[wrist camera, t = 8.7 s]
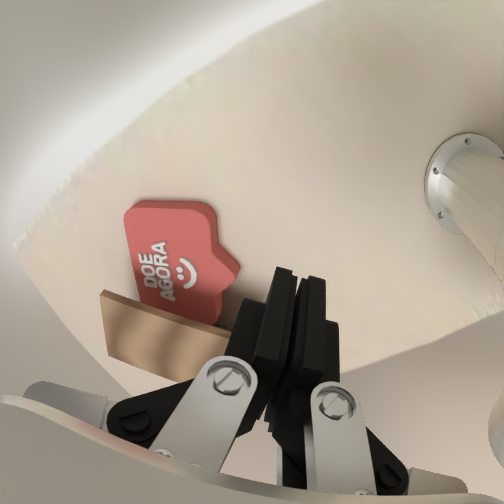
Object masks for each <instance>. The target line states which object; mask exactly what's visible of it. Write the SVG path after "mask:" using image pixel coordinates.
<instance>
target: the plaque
mask: <svg viewBox="0 0 504 504" xmlns="http://www.w3.org/2000/svg"><path fill="white" fill-rule="evenodd" d="M124 225H125V231H126V236H127V241H128V246H129V251H130V256H131V261H132V265H133V270H134V274H135V279H136V283H137V287H138V291H139V295H140V300H141V303H143V304H146V305H149V306H151V307H154V308H157V309H160V310H163V311H166V312H169V313H172V314H175V315H178V316H181V317H184V318H187V319H191V320H194V321H197V322H200V323H203V324H206V325H213V324H214V323H216V321H217V319H218V317H219V315H220V312H221V310H222V307H223V306H222V291H223V290H225V289H226V288H227V287H228V286H229V285H231V284H232V283H233V282H234V281H235V279H236V276H237V274H238V272H239V269H240V265H239V263H238V262H237V261H236V260H235V259H234V258H233V257H232V256H231V255H230V254H229V253H227V252H226V251H225V250H224V249H223V248H222V247H221V246H220V245H219V243H218V233H217V218H216V214H215V212H214V210H213V209H212V208H211V207H210V206H209V205H207V204H205V203H202V202H185V201H140V202H138V203H137V204H135V205H134V206H133V207H131V208H130V209H129V210H127V211H126V213H125V214H124Z"/></svg>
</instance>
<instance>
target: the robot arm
mask: <svg viewBox="0 0 504 504" xmlns="http://www.w3.org/2000/svg"><path fill="white" fill-rule="evenodd" d="M465 139H466V142H465ZM434 168H435V170H434V171H433V169H434ZM425 196H426V200H427V204H428V207H429V209H430V211H431V213H432V215H433V216H434V217H435V219H436V220H437V221H438V222H439V223H440V224H441V225H442V226H443V227H444V228H446V229H447V230H449V231H450V232H453V233H456V234H461V235H466V236H467V238H468V239H469V240H470V241H471V242H472V244H473V245H474V246H475V247H476V249H477V250H478V251H479V252H480V254H481V255H482V256H483V258H484V259H485V260H486V261H487V263H488V264H489V265H490V267H491V268H492V269H493V271H494V272H495V274H496V275H497V276H498V278H499V279H500V280H501V282H502V283H503V284H504V153H503V152H502V150H501V149H500V148H499V147H498V146H497V145H496V144H495V143H494V142H493V141H491V140H490V139H488V138H486V137H483V136H481V135H477V134H469V133H466V134H460V135H457V136H454V137H452V138H450V139H449V140H447V141H446V142H445V143H443V144H442V145H441V146H440V147H439V148H438V149H437V151H436V152H435V154H434V155H433V157H432V158H431V160H430V163H429V165H428V168H427V172H426V176H425ZM439 212H440V213H439ZM438 213H439V214H438ZM297 278H298V277H297V276H294V275H292V270H288V269H284V268H281V267H276V270H275V274H274V277H273V280H272V284H271V287H270V290H269V294H268V297H267V300H266V303H261V302H257V301H254V300H250V299H247V298H244V299H243V302H242V304H241V307H240V310H239V313H238V316H237V319H236V322H235V324H234V327H233V330H232V333H231V336H230V339H229V342H228V344H227V347H226V350H225V353H224V356H219V357H215V358H213V359H211V360H209V361H207V362H206V364H205V365H204V366H203V367H202V369H201V370H200V372H199V373H198V375H197V376H196V378H193V379H190V380H187V381H184V382H181V383H178V384H175V385H172V386H169V387H165V388H162V389H159V390H156V391H152V392H149V393H146V394H142V395H139V396H135V397H132V398H128V399H125V400H122V401H120V402H113V401H109V400H108V398H107V397H104V396H100V395H95V394H91V393H87V392H83V391H79V390H76V389H72V388H68V387H65V386H61V385H57V384H54V383H51V382H45V381H41V382H36V383H34V384H32V385H31V386H29V387H28V388H27V390H26V391H25V393H24V395H23V397H19V396H12V395H5V394H0V504H504V502H503V501H501V500H499V499H496V498H493V497H490V496H487V495H482V494H474V493H472V494H471V493H468V489H467V487H466V485H465V483H464V482H463V481H462V480H461V479H458V478H456V477H451V476H447V475H442V474H437V473H433V472H429V471H425V470H421V469H417V468H413V467H412V468H411V469H406V467H405V466H404V465H403V463H402V462H401V461H400V460H399V459H398V458H397V457H396V456H395V455H394V454H393V453H392V452H391V451H390V450H389V449H388V448H387V447H386V446H385V445H384V444H383V443H382V442H381V441H380V440H379V439H378V438H377V437H376V436H375V435H374V434H373V433H372V432H371V431H370V430H369V429H368V428H367V427H366V426H365V421H364V416H363V412H362V407H361V403H360V400H359V397H358V396H357V395H356V394H355V392H354V391H353V390H352V389H350V388H349V387H348V386H346V385H344V384H342V383H340V363H339V327H338V323H337V322H333V321H329V320H326V281H325V280H324V279H321V278H317V277H314V276H309V277H308V279H304V278H302V279H301V282H300V285H299V287H298V290H297V293H296V286H297ZM295 294H296V296H295ZM266 405H267V407H266ZM265 407H266V412H265V417H264V421H265V422H269V428H268V432H272V436H273V438H274V439H275V440H276V441H277V443H278V447H277V485H272V484H266V483H262V482H256V481H252V480H247V479H243V478H239V477H234V476H231V475H227V474H223V473H219V472H220V470H221V468H222V466H223V464H224V462H225V460H226V458H227V456H228V454H229V452H230V450H231V448H232V445H233V443H234V441H235V439H236V438H237V437H239V436H241V435H243V434H245V433H248V432H249V431H251V430H252V428H253V425H254V423H255V421H256V419H257V420H259V419H260V417H261V415H262V413H263V411H264V409H265ZM488 436H489V442H490V446H491V448H492V451H493V453H494V455H495V457H496V459H497V460H498V462H499V463H500V464H501V466H502V467H503V468H504V390H503V391H502V392H501V394H500V396H499V397H498V399H497V400H496V402H495V404H494V406H493V409H492V412H491V414H490V418H489V423H488Z"/></svg>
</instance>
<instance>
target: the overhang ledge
mask: <svg viewBox="0 0 504 504" xmlns="http://www.w3.org/2000/svg"><path fill="white" fill-rule="evenodd" d="M100 303H101V311H102V318H103V325H104V332H105V339H106V345H107V351H108V356H111V357H113V358H115V359H118V360H120V361H123V362H125V363H128V364H130V365H132V366H135V367H138V368H140V369H143V370H145V371H148V372H150V373H153V374H156V375H158V376H161V377H164V378H167V379H170V380H172V381H175V382H178V383H181V382H184V381H187V380H190V379H193V378H196V376H197V375H198V373H199V372H200V370H201V369H202V367H203V366H204V365H205V364H206V362H207V361H209V360H211V359H213V358H215V357H219V356H224V353H225V350H226V347H227V344H228V342H229V339H230V336H231V333H232V332H230V331H226V330H227V328H224V327H221V326H218V325H214V324H213V325H206V324H203V323H200V322H197V321H194V320H191V319H187V318H184V317H181V316H178V315H175V314H172V313H169V312H166V311H163V310H160V309H157V308H154V307H151V306H149V305H146V304H143V303H140V302H137V301H134V300H132V299H129V298H126V297H123V296H121V295H118V294H115V293H113V292H110V291H107V290H105V289H104V290H103V291H102V293H101V294H100Z"/></svg>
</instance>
